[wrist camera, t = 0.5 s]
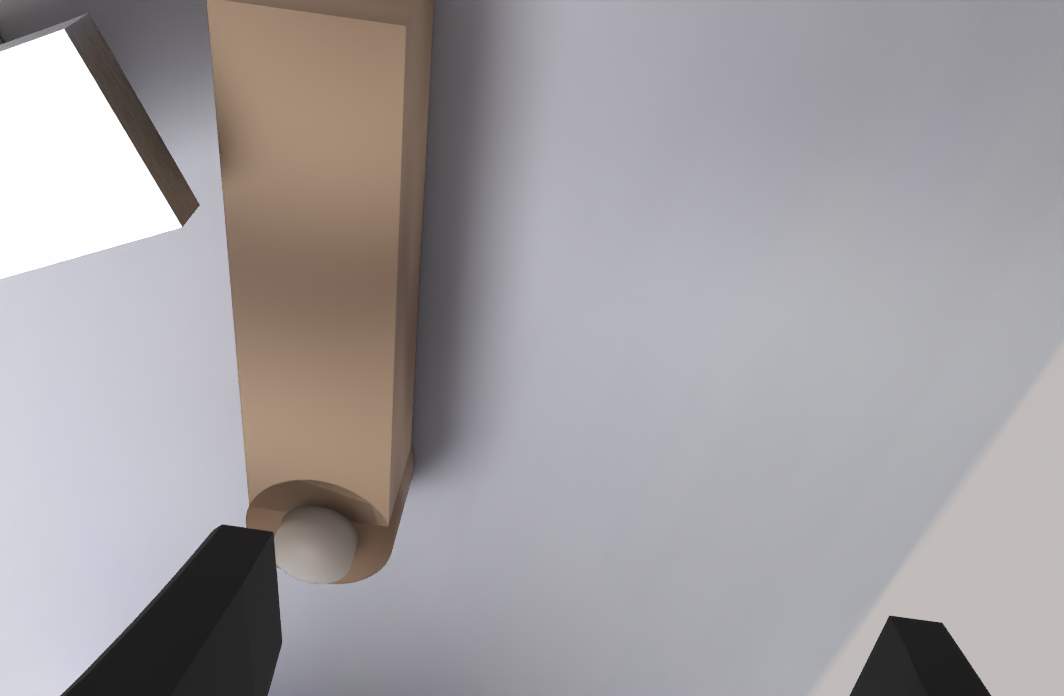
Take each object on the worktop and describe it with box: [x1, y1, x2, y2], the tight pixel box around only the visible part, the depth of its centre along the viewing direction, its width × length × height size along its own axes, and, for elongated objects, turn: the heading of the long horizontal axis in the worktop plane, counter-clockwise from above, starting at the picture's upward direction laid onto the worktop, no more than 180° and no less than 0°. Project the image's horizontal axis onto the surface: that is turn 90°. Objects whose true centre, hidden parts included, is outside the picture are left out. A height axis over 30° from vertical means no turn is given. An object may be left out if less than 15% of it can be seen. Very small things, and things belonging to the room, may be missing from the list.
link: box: [207, 0, 434, 584], centre depth 18 cm, size 12×3×3 cm, turn 174°
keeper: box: [0, 13, 199, 279], centre depth 15 cm, size 3×5×4 cm, turn 109°
